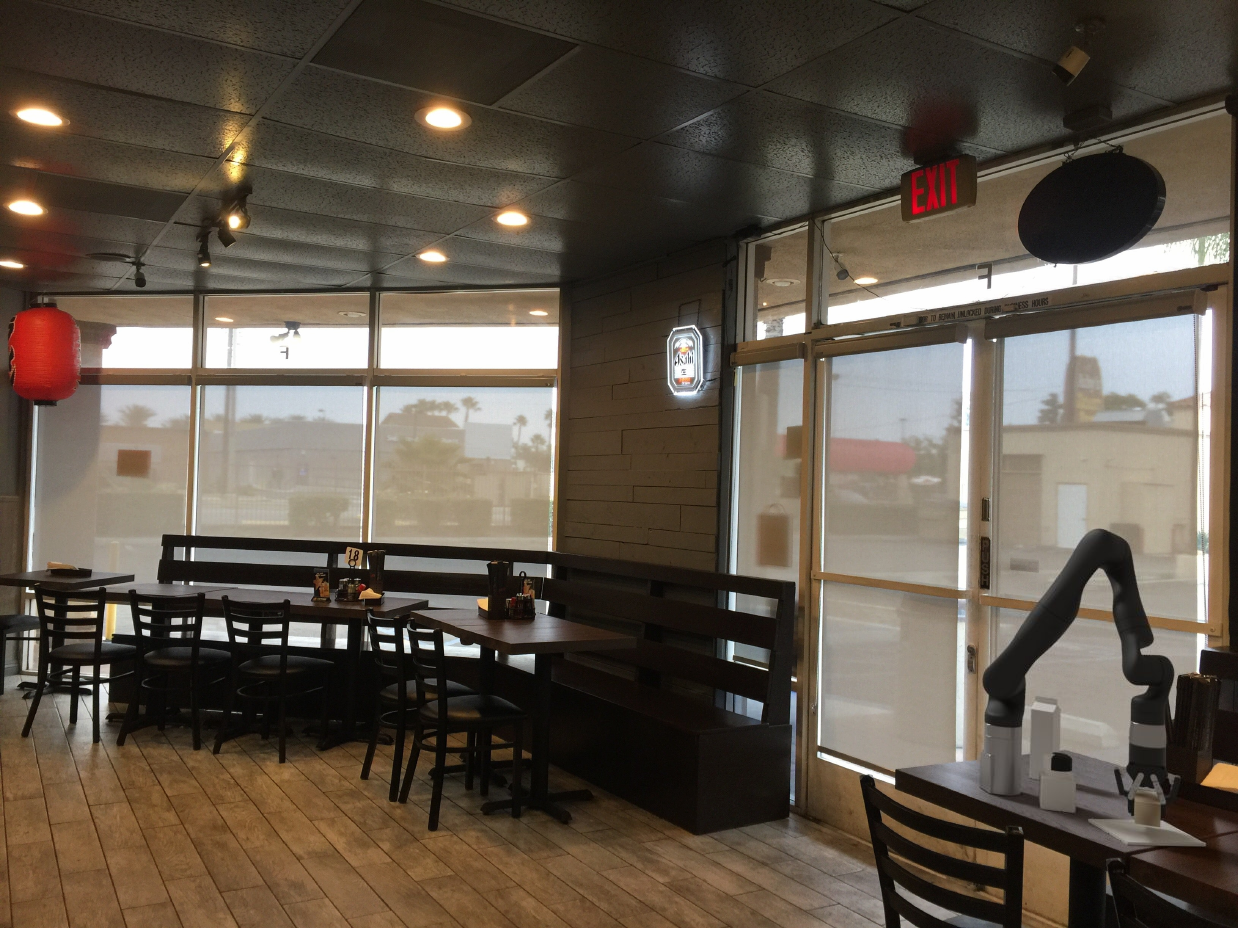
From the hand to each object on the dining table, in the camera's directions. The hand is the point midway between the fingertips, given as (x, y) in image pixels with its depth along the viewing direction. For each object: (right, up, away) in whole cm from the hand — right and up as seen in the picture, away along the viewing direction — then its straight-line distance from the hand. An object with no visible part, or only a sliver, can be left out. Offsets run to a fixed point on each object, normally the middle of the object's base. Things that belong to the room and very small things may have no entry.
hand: (1146, 816), depth 228 cm
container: (-13, -4, +18) cm, 22 cm away
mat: (0, -4, 0) cm, 4 cm away
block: (-3, +3, -6) cm, 7 cm away
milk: (-4, -5, +45) cm, 45 cm away
